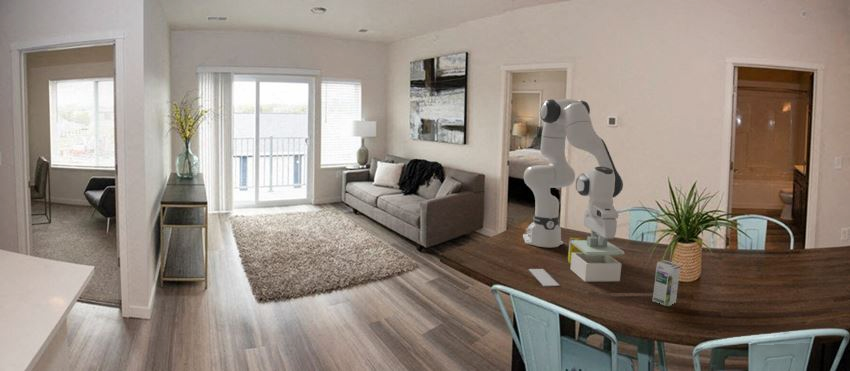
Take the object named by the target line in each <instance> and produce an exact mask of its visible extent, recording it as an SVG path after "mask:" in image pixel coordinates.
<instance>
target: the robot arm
mask: <svg viewBox="0 0 850 371" xmlns="http://www.w3.org/2000/svg"><path fill="white" fill-rule="evenodd" d="M590 110H591V107H590V105H589V103H588V102H586V101H584V100H581V99H577V100H576V99H571V98H562V99H552V98H551V99H547V100H545V101H543V103H542V104H541V106H540V111H539V114H540V118H541V120H542V121H543V127H542V130H541V131H542V132H541V138H540V139H541V141H540V153H541V154H542V155H543V156H544V157H546V158H547V159H548V164H545V165H544V164H543V165H542V164H537V165H532V166H528V167H526V169H525V170H524V172H523V181H524V184H526V186H527V187H528V188H529V189H530V190H531V191H532V193H533V195H534V200H535V202H534V203H535V206H534V208H535V209H534V211H535V212H534V214H533V218H532V221H533V222H531V223H529V225H528V226H527V228H525V233H524V234H523V235H522V238H523V240H524V243H525V244H526V245H531V246H535V247H538V248H539V247H540V248H558V247H559V246H560V245H564V241H562V230H561V229H562V228H561V226H559V223H560V216H559V210H560V201H559V199H558V198H557V197H556V196H555V195H552V193H551V188H552V189H553V188H554V189H556V188H558V189H559V188H566V187H570V186H572V185H573V184H574V182H575V191H577V193H578V194H579V195H580V196H583V197H589V199H588V206H587V208H586V209H585V211H584V216H583V226H585V227H586V228H588V229H590V234H591V235H590V236H598V237H599V239H598V240H597V244H598V245H603V240H604V239H605V238H608V239H614V238H615V237H616V232H617V227H618V226H617V224H618V223H617V222H618V221H617V219H618V218H619V212H618V211H617V210H616V208H615V207H614V200H613V198H616V197H617V196H618V195H619V194H621V192H622V191H623V188H624V182H623V179H622V177H621V175H620V174H619V172H618V171H617V168H616V166H615V163H614V161H613V159H612V156H611V154H610V151H609V149H608V146H607V144H606V142H605V141H604V140H603V138H601V137H600V136H599V135H598V134H597V132H596V131H595V129H594V127H593V123H592V119H591V116H590V112H591V111H590ZM566 139H567V141H568V143H569V144H570V145H571V146H572V147H574V148H576V149H578V150H582V151H584V152H586V153H589V154H591V155H592V156H594V157H595V159H596V161H597V163H598V166H596V167H594V168H592V170H591V171H588V172H583V173H580V174H579V175H578V176H577V178H576V173H575V170H574V169H573V167H572V166H571V165H570V164H569V163H568V162H567V158H566V155H565V153H566V152H565V151H566ZM575 179H576V180H575Z"/></svg>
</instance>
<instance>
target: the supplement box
mask: <svg viewBox="0 0 850 371" xmlns="http://www.w3.org/2000/svg"><path fill="white" fill-rule="evenodd" d="M571 240H585V239H584V238H583V237H582V238H581V237H569V241H568V252H567V261H568V264H570V265H571V256H572V253H584V252H583V251H581V250H580V249H578V248H577V247H576V246H574V245H573V244H572V243H571Z"/></svg>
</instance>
